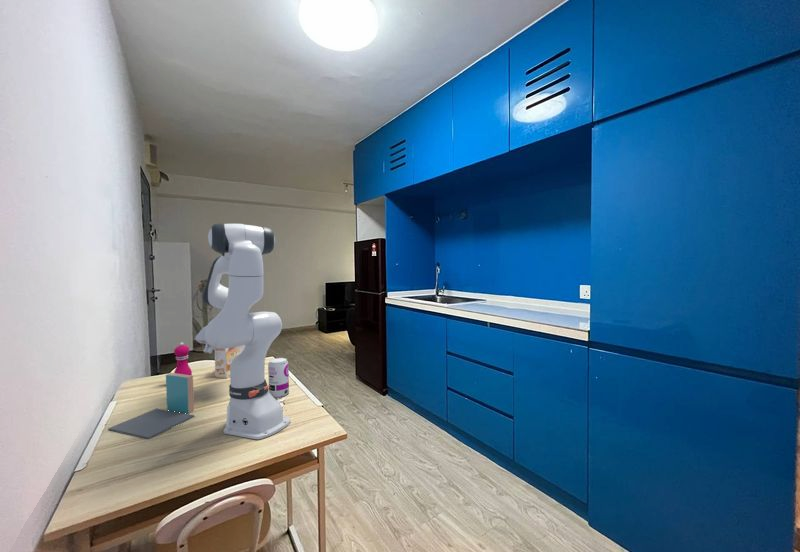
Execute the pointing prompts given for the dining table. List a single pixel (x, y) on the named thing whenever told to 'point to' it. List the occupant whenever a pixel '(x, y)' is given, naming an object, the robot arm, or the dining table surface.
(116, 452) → the dining table surface
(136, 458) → the dining table surface
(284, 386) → the supplement can
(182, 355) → the pepper mill
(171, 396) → the tile
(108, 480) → the dining table surface
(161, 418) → the mat
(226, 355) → the coffeecake box
